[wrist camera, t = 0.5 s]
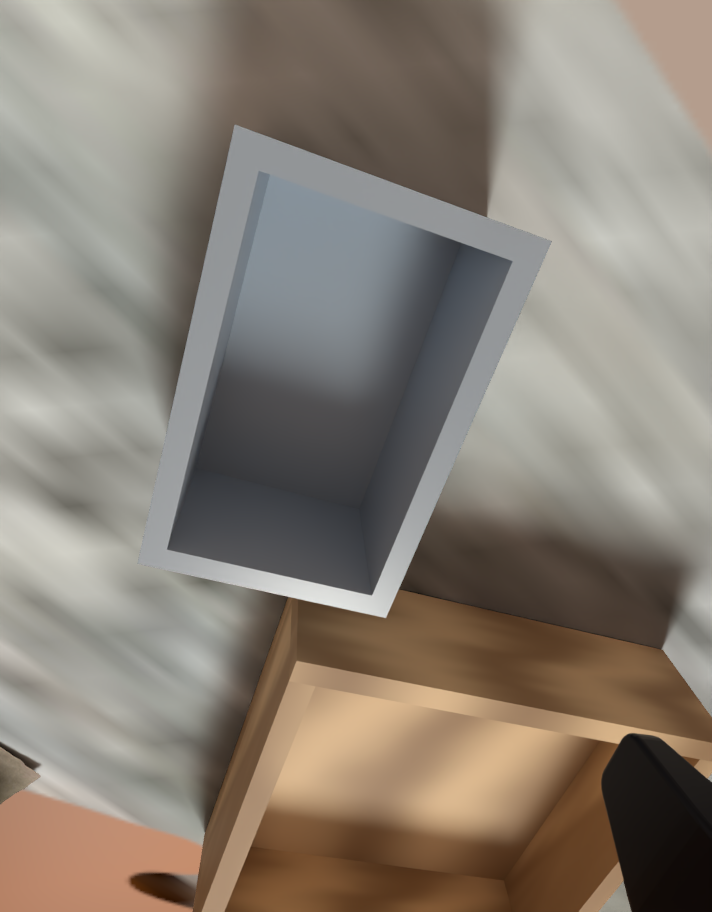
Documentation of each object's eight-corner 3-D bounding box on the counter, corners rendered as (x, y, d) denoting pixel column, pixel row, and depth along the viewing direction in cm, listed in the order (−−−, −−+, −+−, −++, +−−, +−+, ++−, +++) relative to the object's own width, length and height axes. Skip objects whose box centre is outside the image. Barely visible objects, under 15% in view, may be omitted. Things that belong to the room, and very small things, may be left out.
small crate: (255, 134, 16) (234, 124, 11) (487, 220, 17) (551, 241, 12) (176, 471, 19) (137, 563, 15) (369, 519, 21) (385, 618, 16)
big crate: (662, 649, 24) (733, 746, 20) (507, 874, 30) (537, 985, 26) (298, 566, 21) (296, 660, 17) (204, 834, 27) (186, 951, 23)
